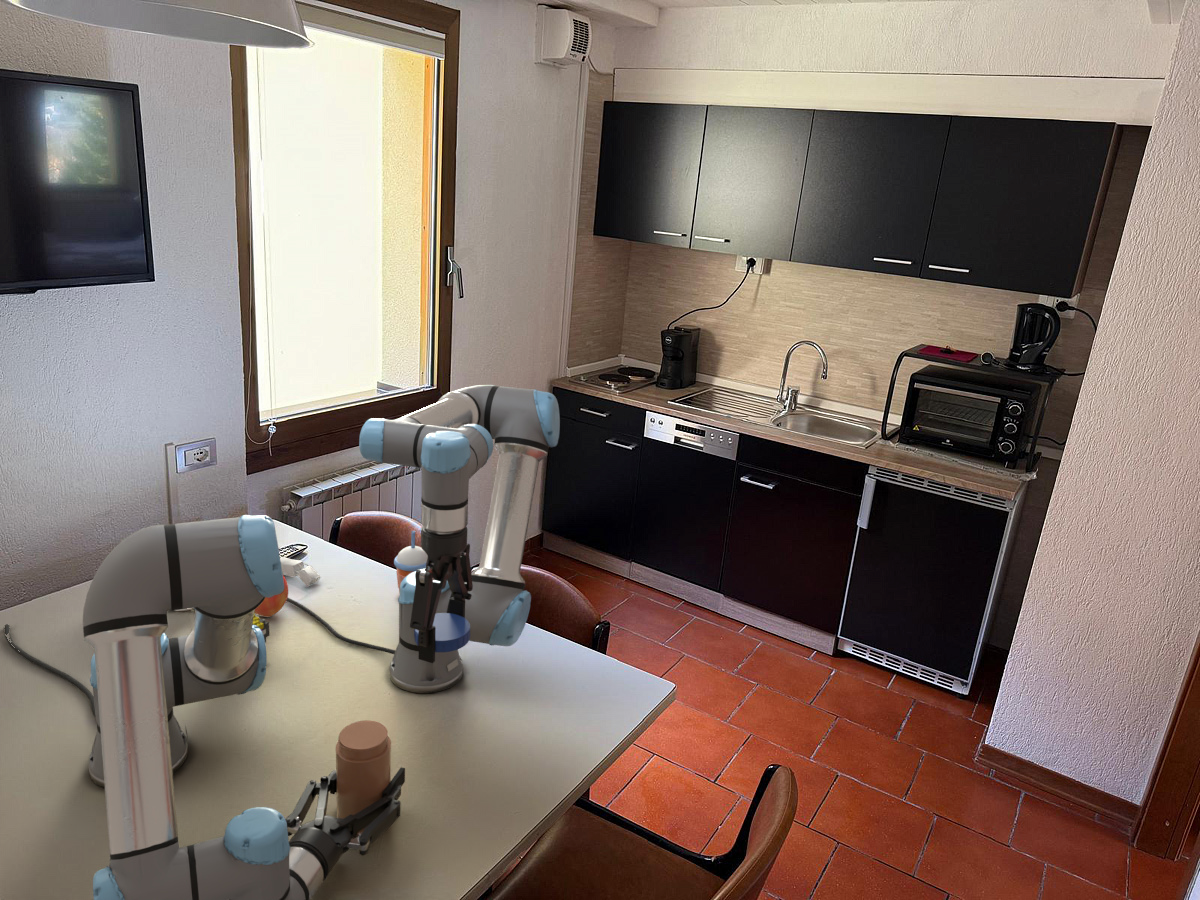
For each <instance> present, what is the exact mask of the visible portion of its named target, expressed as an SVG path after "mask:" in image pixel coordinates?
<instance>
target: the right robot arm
mask: <svg viewBox="0 0 1200 900" xmlns="http://www.w3.org/2000/svg"><path fill="white" fill-rule="evenodd" d="M560 417H561V416H560V407H559V403H558V399H557V398H556V396H555V395H554V394H553V393H552V392H548V391H542V390H538V389H536V388H535V389H530V388H520V387H510V386H503V385H502V386H501V385H496V384H478V385H472V386H467V387H463V388H459V389H455V390H452V391H450V392H447V393H445V394H444V395H442V396H441V397H440V398H439V399H438V401H437V402H436V403H433V404H430V405H428V406H426V407H423V408H421V409H419V410H416V411H414V412H411V413H409V414H406V415H404V416H401V417H399V418H396V419H386V418H384V417H382V418H376V417H375V418H374V417H373V418H372V417H371V418H368V419H367V420H365V422H364V423H363V425H362V427H361V429H360V433H359V437H358V438H359V440H358V443H359V444H358V446H359V452H360V454H361V456H362V457H363V459H365V460H367V461H371V462H376V463H380V464H390V465H397V466H405V467H414V468H420V469H421V470H420V471H421V472H420V473H421V496H420V497H421V498H420V502H421V503H420V507H421V515H420V517H421V518H420V519H421V522H420V524H421V528H420V547H421V548H422V549H423V550H424V551H425V553H426V554H427V556H428V558H427V562H426V568H424V569H420V570H417V571H414V572H412V573H410V574H409V575H407V576H406V577H405V578H404V579H403V580H402V582H401V584H400V595H398V598H397V600H398V643H397V645H396V648H395V649H391V648H388V647H384V646H379V645H375V644H370V643H366V642H364V641H358V640H354V639H351V638H348V637H346V636H344V635H342V634H341V633H338V632H337V631H336V630H335V629H334V628H333V627H332V626H331V624H329V623H328V622H327V621H325V620H324V619H323V618H321V617H320V616H319V615H318V614H316V613H315V612H313V611H312V610H311V609H309V608H308V607H306V606H304V604H302V603H300V602H298V601H296V600H294V599H292V598H290V597H288V598H287V601H286V603H289V604H290V605H294V606H295V607H296V608H299V609H300V610H302V611H303V612H304V613H306V614H307V615H308V616H311V617H312V618H313V619H314V620H316V621H317V622H318V623H319V624H321V625H322V626H323V627H324V628H325V629H327V630H328V632H329V633H330V634H332V636H334V637H335V638H337V639H338V640H340V641H342V642H345V643H347V644H350V645H354V646H357V647H358V646H359V647H363V648H367V649H370V650H375V651H379V652H384V653H387V654H391V655H393V656H392V659H391V660H390V665H389V679H390V681H391V682H392V683H393V684H394V685H395V686H396V687H398V688H399V689H401V690H404V691H407V692H410V693H416V694H430V693H431V694H432V693H438V692H441V691H445V690H447V689H450V688H451V687H453V686H455V685H456V684H457V683H458V682H459V681H460V680H461V679H462V676H463V672H464V664H463V660H462V657H461V656H460V653H459V649H458V650H455V651H451V652H435V630H436V627H435V626H433V622H434V618H435V614H436V613H451V614H456V615H459V616H462V617H464V618H465V619H466V620H467V621H468V622H469V624H470V639H469V641H468V642H474V643H480V644H487V645H489V646H499V647H500V646H501V647H510V646H512V645H514V644H516V643H517V641H518V640H519V639H520V637H521V635H522V633H523V631H524V629H525V627H526V623H527V621H528V617H529V615H530V614H529V613H530V610H531V602H532V594H531V592H529V591H528V590H525V589H526V581H525V579H524V577H523V576H522V575H521V568H522V562H523V557H524V551H525V546H526V539H527V533H528V527H529V523H530V516H531V511H532V507H533V506H532V505H533V499H534V493H535V489H536V483H537V475H538V470H539V465H540V462H541V461H542V460H544V459H545V458H547V457H548V454H549V449H550V448H552V449H553V448H554V447H557V445H558V443H559V440H560V428H561V425H560V424H561V419H560ZM494 449H495V450H496V453H498V461H497V465H496V466H497V467H496V472H495V477H494V483H493V488H492V493H491V499H490V504H489V505H490V506H489V510H488V516H487V521H486V527H485V532H484V537H483V542H482V548H481V554H480V559H479V566H478V567H477V568H475V569H474V570H473V571H472V567H471V559H470V551H471V543H468V524H469V489H470V488H469V487H470V485H469V484H470V479H471V478H472V477H473V476H474V475H475V474H477V472H478V471H479V470H480V469H482V468H483V467H484V466H485V465H486V464H487V463H488V460H489V459H490V457H492V454H493V453H494ZM414 629H416V630H419V635H418V643H419V646H418V645H417V644H416V642H415V638H414Z"/></svg>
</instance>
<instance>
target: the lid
mask: <svg viewBox="0 0 1200 900" xmlns="http://www.w3.org/2000/svg"><path fill="white" fill-rule="evenodd" d="M433 626H435V627H436V630H435V652H451V651H455V650H458V651H459V650H460V649H462V648H464V647H465V646H466V645H468V644H469V642H470V641H469V639H470V624H469V622H468V621H467V620H466V619H465V618H464V617H462V616H459V615H456V614H451V613H436V614H435V618H434V622H433ZM418 635H419V630H416V629H414V638H415V642H416V644H417V645H418V646H419V643H418Z"/></svg>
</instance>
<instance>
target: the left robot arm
mask: <svg viewBox="0 0 1200 900" xmlns="http://www.w3.org/2000/svg"><path fill="white" fill-rule="evenodd" d="M278 547H279V544H278V537H277V530H276V525H275V522H274V520H273V519H272V518H271V517H270V516H268V515H266V514H257V515H256V514H255V515H250V514H242V515H240V516H237V517H229V518H227V517H226V518H217V519H208V520H207V519H206V520H198V521H189V522H178V523H170V524H155V525H151V526H147V527H144V528H141V529H139V530H136V531H135V532H133V533H131V534H129V535H128V536H126V537H125V538H124V539H122V540H121V541H120V542H119V543H117V545H116V546H115V547H114V548H113V549H112V550H111V551H110V552H109V553H108V554H107V556H106V557H105V558H104V560H103V561H102V562H101V563H100V565H99V567H98V568H97V571H96V572H95V574H94V577H93V578H92V580H91V582H90V584H89V588H88V590H87V593H86V597H85V600H84V606H83V612H82V631H83V632H82V633H83V641H84V642H86V643H87V644H89V645H90V646H91V647H92V648H93V652H94V653H93V655H92V657H91V660H90V677H89V683H90V686H91V687H92V692H91V691H90V689H88V687H86V686H85V685H84V684H83V683H81V682H80V681H78V679H75V678H74V677H73V676H71V675H70V674H67V673H66V672H64V671H62V670H60V669H57V668H55V667H53V666H51V665H50V664H47V663H46V662H44V661H42V660H40V659H38V658H36V657H34V656H32V655H31V654H29V653H27V652H26V651H25V650H23V649H22V648H21V647H19V646H18V645H17V644H16V643H15V642H14V640H13V639H12V636H11V635H10V638H11V639H12V640H11V641H13V642H14V643H15V644H16V645H15V644H14V643H13V642H11V643H10V642H9V641H10V640H9V641H8V639H7V637H6V636H5V634H6V635H7V634H8V633H9V629H10V628H11V626H10V624H9V625H8V623H6V624H5V625H4V626H5V628H4V627H3V629H5V632H4V637H5V640H6V642H7V644H8V645H9V646H10V648H11V649H12V650H14V651H15V652H16V653H17V655H20V656H21V657H22V658H24V659H25V660H27V661H28V662H31V663H33V664H34V665H36V666H38V667H40V668H42V669H44V670H46V671H48V672H50V673H51V674H54V675H56V676H58V677H60V678H62V679H64V680H65V681H67V682H68V683H70V684H72V685H73V686H75V687H76V688H77V689H78V690H80V691H81V692H82V693H83V694H84V695H85V696H86V698H87V699H88V701H89V703H90V707H91V710H92V714H93V716H94V718H95V724H96V733H95V737H94V740H93V743H92V747H91V751H90V753H89V756H88V763H87V764H88V773H89V777H90V779H91V781H92V782H94V784H96V785H98V786H100V787H102V788H104V795H105V808H106V822H107V823H106V824H107V834H108V836H107V837H108V848H109V865H107V866H106V867H104V868H101V869H98V870H97V871H96V872H95V873H94V874H93V878H92V893H93V900H312V898H313V897H314V896H315V895H316V893H317V891H318V890H319V888H320V887H321V885H323V882H324V881H325V880H326V879H327V878H328V876H329V875H330V873H331V872H332V871H333V870H334V868H335V867H336V865H337V863H338V862H339V860H340V858H341V856H342V855H343V854H345V853H347V852H348V851H349V850H356V851H357V850H358V854H359V855H360V856H366V855H367V854H368V852H369V850H370V848H371V846H372V845H373V844H374V842H375V841H376V840H377V839H379V838H380V837H381V835H382V834H384V833H385V832H386V831H387V830H388V829H389V828H390V827H391V826H392V825H393V824H394V823H395V822H396V821H397V820H398V819H399V818H400V817H401V805H402V804H401V801H400V800H399V799H400V797H401V796H402V787H403V785H404V784H405V782H406V767H399V769H398V770H397V771H396V773H395V774H394V776H393V777H392V778H391V781H390V783H389V784H388V786H387V787H386V788H385V790H384V791H383V798H381V799H380V800H378V801H376V802H375V803H373V804H371V805H370V806H368V807H366V808H365V809H363V810H361V811H360V812H358V813H356V814H355V815H352V814H350V815H349V816H347V817H345V818H344V819H342V818H337V817H335V816H333V815H330V814H327V809H328V802H329V795H335V794H336V769H333V770H332V771H331V772H330V773H329V774H328V775H324V776H321V777H320V782H317V780H314V779H311V780H309V781H308V782H307V784H306V785H305V788H304V790H303V792H302V794H301V795H300V797H299V799H298V801H297V803H296V805H295V806H294V808H293V810H292V812H291V813H290V814H289V815H287V817H285V816H284V815H283V814H282V813H281V812H280V811H278V809H275V808H272V807H268V806H267V807H266V806H255V807H251V808H248V809H245V810H243V811H242V812H241V813H240V814H239V815H235V816H233V817H232V818H230V820H229V822H228V823H227V825H226V827H225V830H224V835H223V836H219V837H215V838H211V839H208V840H204V841H201V842H197V843H193V844H190V845H186V846H182V847H181V846H180V842H179V830H178V817H177V807H176V796H175V795H176V794H175V783H174V773H175V772H177V771H178V770H179V769H180V768H181V767H182V766H183V764H185V762H186V759H187V758H188V754H189V746H188V740H189V736H188V731H187V726H186V725H184V727H185V728H184V729H185V733H184V731H182V728H181V726H180V724H179V722H178V720H177V718H176V716H175V714H174V708H175V707H180V706H184V705H188V704H193V703H200V702H203V701H209V700H214V699H219V698H223V697H224V698H225V697H231V696H235V695H238V696H239V695H244V694H246V693H249V692H252V691H256V690H258V689H259V688H260V687H262V685H263V683H264V682H265V678H266V675H267V668H266V667H267V663H268V659H267V645H266V643H265V640H264V636H263V633H262V631H261V629H260V628H259V627H258V626H256V625H252V624H253V618H254V612H255V609H256V608H257V607H258V606H260V604H261V603H262V602H263V601H264V599H265V597H267V598H270V597H273V596H274V595H278V594H280V593H282V592H283V591H284V581H283V576H284V575H283V574H282V567H281V561H280V557H281V555H280V549H279V548H280V547H279V548H278ZM187 608H194V609H193V610H194V626H193V627H194V628H193V629H192V630H191V631H190V633H189V634H187V635H186V634H185V635H180V636H175V637H170V638H169V636H167V634H166V633H165V632H166V631H167V630H168V629H169V623H168V622H169V621H168V612H170V611H173V610H180V609H187ZM9 627H10V628H9ZM10 638H9V639H10ZM11 644H12V645H13V646H14V647H15V648H14V647H13V646H12V645H11ZM18 650H19V651H20V652H19V651H18ZM185 734H186V735H185ZM317 796H318V798H317V805H316V808H315V816H314V819H312V820H310V821H308V822H305V823H303V822H304V820H305V818H306V817H307V815H308V813H309V811H310V808H311V806H312V805H313V803H314V801H315V799H316V797H317ZM364 828H365V829H364ZM362 829H364V830H363V832H360V833H358V832H359V831H361V830H362ZM357 833H358V835H357ZM291 836H292V837H291ZM289 837H291V838H290V839H289Z"/></svg>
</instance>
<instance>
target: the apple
mask: <svg viewBox="0 0 1200 900" xmlns="http://www.w3.org/2000/svg"><path fill="white" fill-rule="evenodd" d="M283 581H284V591H283V592H282V593H280V594H278V595H274V596H273V597H270V598H267V597H265V599H264V601H263V602H262V603H261V604H260V606H258V607H257V608H256V609H255V615H257V616H261V617H265V618H269V617H273V616H275V615H276V614H278V613H279V612H280V611H281V610H282V609H283V607H284V606H285V605H286V603H287V598H289V584H288V581H287V579H286V577H285V575H283Z"/></svg>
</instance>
